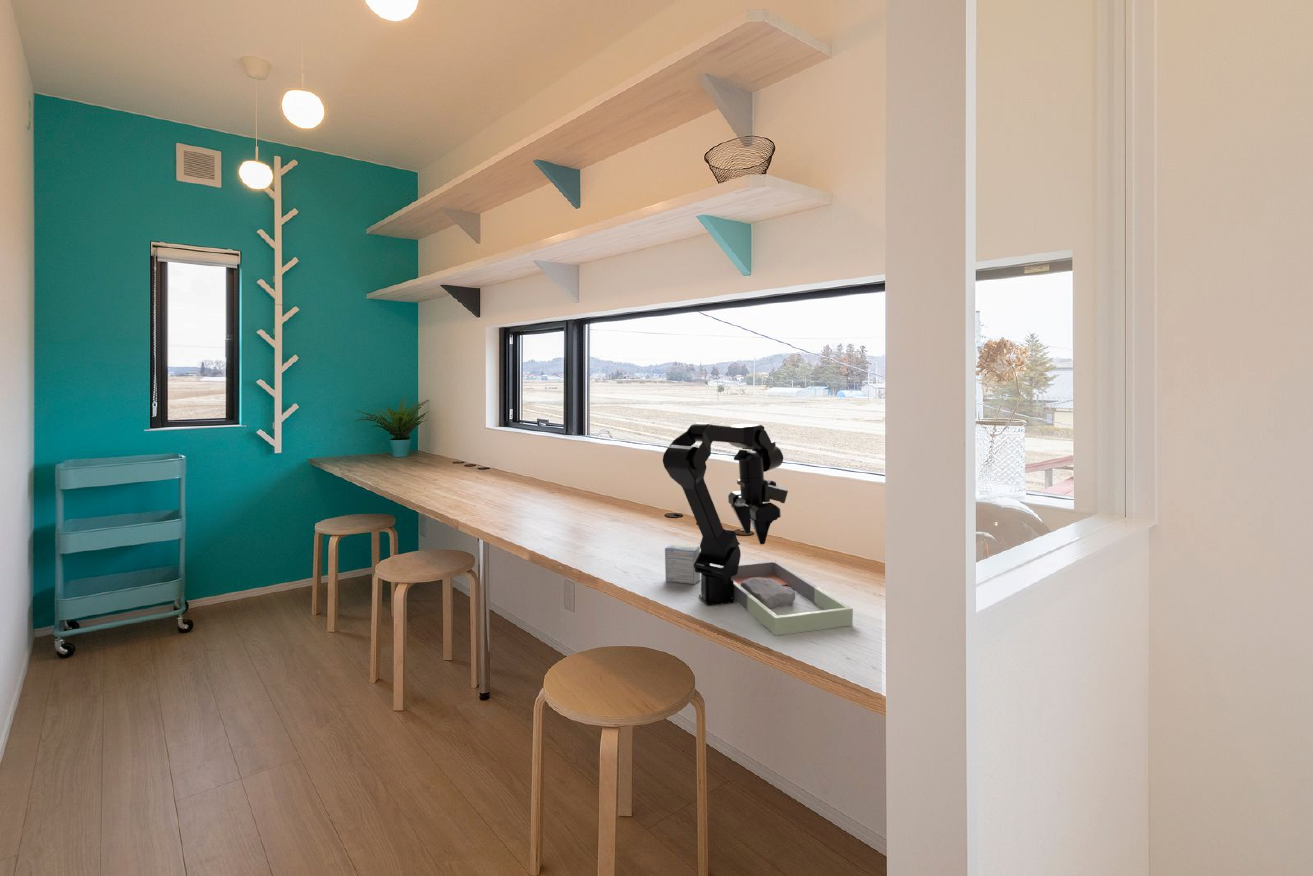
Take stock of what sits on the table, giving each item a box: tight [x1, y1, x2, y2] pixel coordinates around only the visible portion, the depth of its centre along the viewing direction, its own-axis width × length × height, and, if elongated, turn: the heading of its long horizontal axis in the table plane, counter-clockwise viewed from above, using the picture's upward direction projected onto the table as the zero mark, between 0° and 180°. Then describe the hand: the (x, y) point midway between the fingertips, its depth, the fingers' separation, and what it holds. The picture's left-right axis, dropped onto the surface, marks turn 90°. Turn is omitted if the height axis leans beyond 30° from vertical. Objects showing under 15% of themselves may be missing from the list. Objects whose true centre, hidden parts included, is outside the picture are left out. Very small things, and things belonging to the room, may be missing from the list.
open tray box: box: [717, 560, 854, 636], centre depth 148 cm, size 17×36×4 cm, turn 15°
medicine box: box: [664, 543, 701, 585], centre depth 164 cm, size 8×4×9 cm, turn 68°
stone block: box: [741, 577, 796, 610], centre depth 149 cm, size 12×5×10 cm
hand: (754, 538), depth 160 cm, fingers open, 9 cm apart
